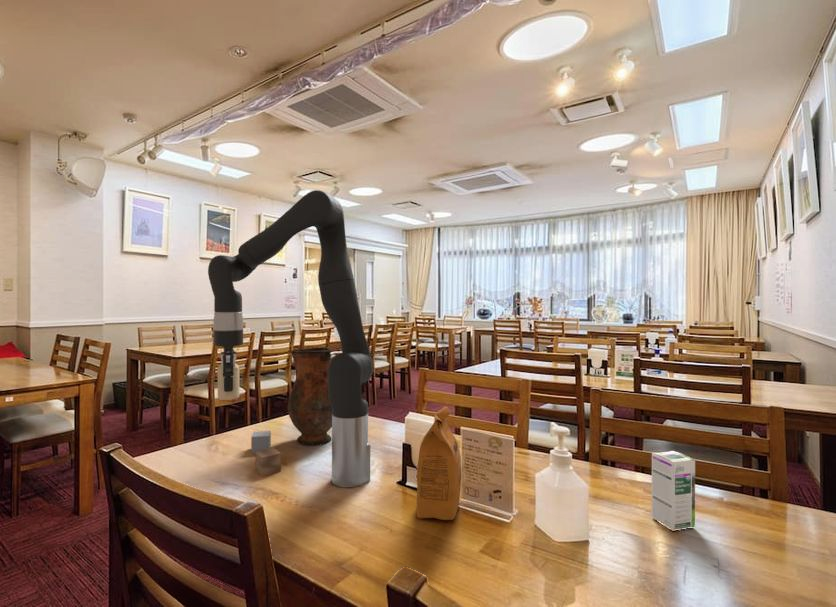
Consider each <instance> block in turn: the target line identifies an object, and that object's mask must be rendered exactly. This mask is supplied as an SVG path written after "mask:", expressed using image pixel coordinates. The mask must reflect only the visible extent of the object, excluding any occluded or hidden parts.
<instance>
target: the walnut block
mask: <svg viewBox="0 0 836 607" xmlns="http://www.w3.org/2000/svg"><path fill="white" fill-rule="evenodd" d="M255 470H256V471H257V473H258V474H259V475H260V476H261V477H265V476H267V475H272V474H276V473H280V472H282V453H281V452H280V451H279V450H277V449H276V448H275V447H272V448H271V447H270V449H267V450H262V451H258V452H256V453H255Z"/></svg>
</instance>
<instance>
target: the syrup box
mask: <svg viewBox="0 0 836 607" xmlns="http://www.w3.org/2000/svg"><path fill="white" fill-rule="evenodd" d="M695 506H696V460H695V459H694V458H692V457H690V456H688V455H686V454H684V453H681V452H678V451H674V450H670V451H662V452H652V453H651V518H652V517H653V518H655V519H656V520H658V521H660V522H661V523H663V524H665V525H666V526H668V527H669V528H671V529H673V530H675V529H682V528H688V527H694V526H695V527H696V507H695Z"/></svg>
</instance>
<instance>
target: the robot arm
mask: <svg viewBox="0 0 836 607" xmlns="http://www.w3.org/2000/svg"><path fill="white" fill-rule="evenodd" d="M345 224H346V223H345V214H344V210H343V206H342V204H341V203H340V201H339V200H337V198H335V197H333V196H332V195H331V194H329V193H327V192H325V191H323V190H320V189H319V190H318V189H315V190H310V191H309V192H307V193H305V195H304V196H302V197H301V198H300V199H299V200H298V201H297V202H296V203H295V204H293V205H292V206H291V207H290V208H289V209H288V210H287V211H285V213H284V214H282V215H281V216H280V217H279V218H278V219H276V221H274V222H273V223H271V224H270V225H269V226H268V227H266V228H265V229H264V230H262V231H261V232H259V233H257V234H256V235H254V236H253V237H251V238H250V239H248V240H246V241H245V242H243V243H242V244H241V245H240V246H239V248H238V254H236V255H234V256H229V255H221V254H219V255H215V256H214V257H213V258H211V260H210V261H209V264H208V268H207V270H208V271H207V275H208V280H209V283H210V287H211V290H212V294H213V296H214V300H213V301H214V306H213V307H214V310H213V311H214V313H213V314H214V315H213V321H212V322H213V324H212V325H213V329H212V330H213V346H215V347H217V348H218V347H221V348H223V351H220V360H221V364H222V366H221V367H222V370H223V378H224V391H225V392H230V391H233V376H234V373H233V370H234V369H235V363H236V360H237V351H235V350H234V347H240V346H242V345H243V344H244V317H243V296H242V293H241V292H240V291H238V290H236V289H235V286H234V283H237V282H240V281H243V280H244V279H246V278H247V277H249V276H250V275H251V274H252V273H253V271H255V270H256V269H257V267H258V266H260V265H262V264H264V263H265V262H266V261H269V260H270V259H271V258H273V257H274V256H276V255H277V254H279V253H280V252H281V251H282V250H283V248H284V247H285V246H286V245H287V243H288V242H289V241H290V240H291V239H292V238H293V237H295V236H296V235H297V234H298V233H300V232H302V231H304V230H306V229H307V230H308V229H309V228H312V227H315V228H316V232H317V236H318V240H319V243H320V253H321V254H320V261H319V267H318V273H317V274H318V275H317V280H318V288H319V294H320V299H321V303H322V306H323V308H324V310H325V312H326V314H327V316H328V317H329V319H330V321H331V322H332V324H333V325H334V327H335V329H336V331H337V334H338V336H339V341H340V347H341V352H339V353H340V354H337V355H333V357H331V359H330V364H329V368H328V392H329V402H330V405H331V408H332V427H331V482H332V484H334V485H335V486H337V487H341V488H354V487H359V486H361V485H364V484H365V483H368V482H371V443H370V442H369V403H368V401H367V400H366V399H363V397H362V385H363V384H366V383H367V382H368V381H369V380H370V379H371V378H372V376H373V373H374V362H373V358H372V355H371V351H370V348H369V345H368V342H367V338H366V335H365V330H364V328H363V321H362V315H361V311H360V310H361V309H360V306H359V300H358V294H357V288H356V282H355V278H354V274H353V270H352V263H351V259H350V253H349V250H348V247H347V246H348V244H347V239H346V238H347V236H346V225H345ZM226 369H231V372H225V370H226Z"/></svg>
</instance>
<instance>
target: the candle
mask: <svg viewBox="0 0 836 607" xmlns="http://www.w3.org/2000/svg"><path fill="white" fill-rule="evenodd" d="M221 366H222V363H220V365H219V366H218V367H217V399H218V400H221V401H228V400H229V401H230V400H235V399H239V398H240V365H239V364H237V363H236V362H235V369H234V370H233V373H234V376H233V391H230V392H225V391H224V378H223V370H222V367H221ZM225 372H231V369H226V370H225Z"/></svg>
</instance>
